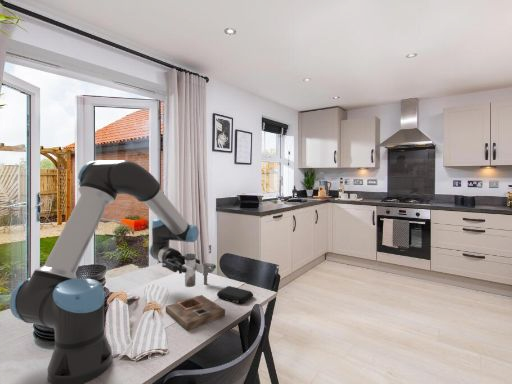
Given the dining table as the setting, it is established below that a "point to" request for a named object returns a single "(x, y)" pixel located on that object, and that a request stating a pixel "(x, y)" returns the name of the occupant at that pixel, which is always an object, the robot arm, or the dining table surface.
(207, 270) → the mechanical component
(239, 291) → the carrying case or bag
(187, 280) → the metal cylinder
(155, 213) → the robot arm
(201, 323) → the socket board
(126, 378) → the dining table surface
